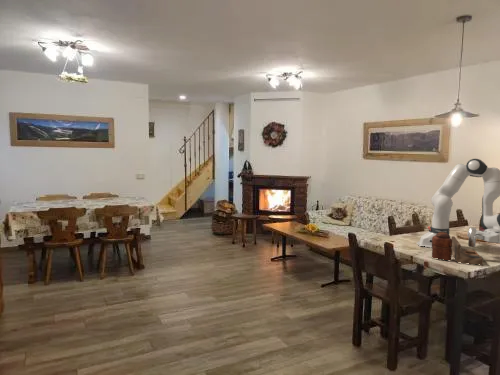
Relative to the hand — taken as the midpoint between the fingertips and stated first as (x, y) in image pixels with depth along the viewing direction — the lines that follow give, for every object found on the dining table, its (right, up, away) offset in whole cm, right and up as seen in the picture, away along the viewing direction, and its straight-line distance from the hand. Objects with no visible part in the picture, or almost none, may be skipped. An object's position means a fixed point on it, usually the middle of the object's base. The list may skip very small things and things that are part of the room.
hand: (470, 236), depth 232 cm
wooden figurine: (-19, -15, +1) cm, 24 cm away
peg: (+1, -7, +1) cm, 7 cm away
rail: (-3, -15, +1) cm, 15 cm away
